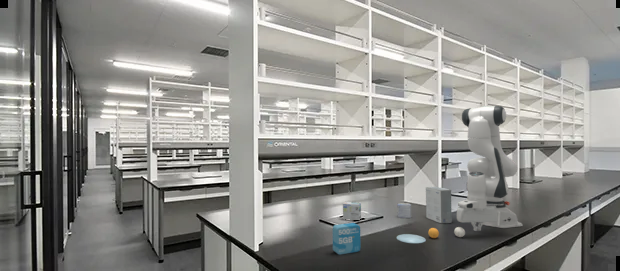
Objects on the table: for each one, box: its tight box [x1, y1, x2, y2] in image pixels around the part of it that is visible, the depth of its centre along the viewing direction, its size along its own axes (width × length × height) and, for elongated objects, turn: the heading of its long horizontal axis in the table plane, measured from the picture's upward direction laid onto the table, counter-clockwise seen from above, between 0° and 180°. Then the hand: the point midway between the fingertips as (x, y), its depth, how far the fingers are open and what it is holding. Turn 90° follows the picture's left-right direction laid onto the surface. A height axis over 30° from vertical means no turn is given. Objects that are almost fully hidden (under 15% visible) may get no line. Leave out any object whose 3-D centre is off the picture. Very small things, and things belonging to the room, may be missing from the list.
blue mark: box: [396, 233, 427, 244], centre depth 155 cm, size 14×14×1 cm
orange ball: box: [427, 227, 440, 239], centre depth 156 cm, size 5×5×5 cm
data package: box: [332, 222, 361, 256], centre depth 138 cm, size 12×4×12 cm, turn 112°
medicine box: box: [397, 202, 412, 219], centre depth 199 cm, size 8×4×9 cm, turn 84°
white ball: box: [453, 226, 466, 238], centre depth 158 cm, size 5×5×5 cm
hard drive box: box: [425, 186, 453, 224], centre depth 191 cm, size 16×8×20 cm, turn 13°
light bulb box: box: [342, 201, 362, 221], centre depth 194 cm, size 11×7×11 cm, turn 71°
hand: (477, 230), depth 158 cm, fingers closed
